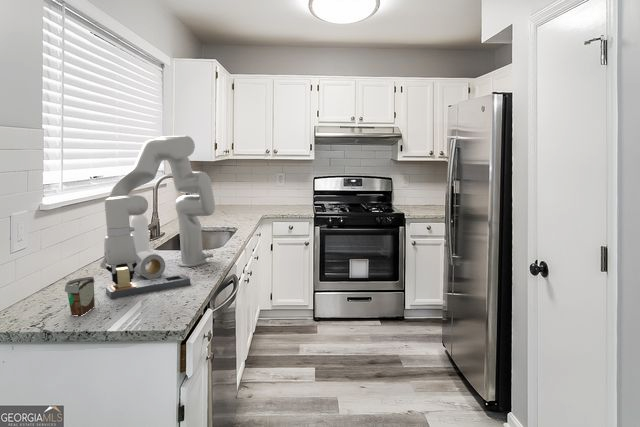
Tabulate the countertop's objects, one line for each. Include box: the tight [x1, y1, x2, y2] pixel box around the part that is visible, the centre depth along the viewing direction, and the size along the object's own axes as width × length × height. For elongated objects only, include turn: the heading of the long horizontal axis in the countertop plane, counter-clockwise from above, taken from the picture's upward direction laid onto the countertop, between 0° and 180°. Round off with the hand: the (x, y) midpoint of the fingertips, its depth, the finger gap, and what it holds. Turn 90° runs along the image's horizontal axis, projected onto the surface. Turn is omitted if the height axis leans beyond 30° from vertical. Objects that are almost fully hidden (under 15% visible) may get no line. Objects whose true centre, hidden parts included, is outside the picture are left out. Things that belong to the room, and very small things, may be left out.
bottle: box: [129, 213, 151, 263], centre depth 218 cm, size 8×8×30 cm
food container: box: [64, 276, 96, 316], centre depth 145 cm, size 12×6×10 cm, turn 5°
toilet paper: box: [132, 251, 166, 280], centre depth 189 cm, size 10×10×10 cm
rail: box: [105, 273, 192, 300], centre depth 170 cm, size 28×9×3 cm, turn 124°
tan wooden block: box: [115, 267, 130, 289], centre depth 165 cm, size 4×4×8 cm
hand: (122, 282), depth 165 cm, fingers closed on tan wooden block, 3 cm apart
